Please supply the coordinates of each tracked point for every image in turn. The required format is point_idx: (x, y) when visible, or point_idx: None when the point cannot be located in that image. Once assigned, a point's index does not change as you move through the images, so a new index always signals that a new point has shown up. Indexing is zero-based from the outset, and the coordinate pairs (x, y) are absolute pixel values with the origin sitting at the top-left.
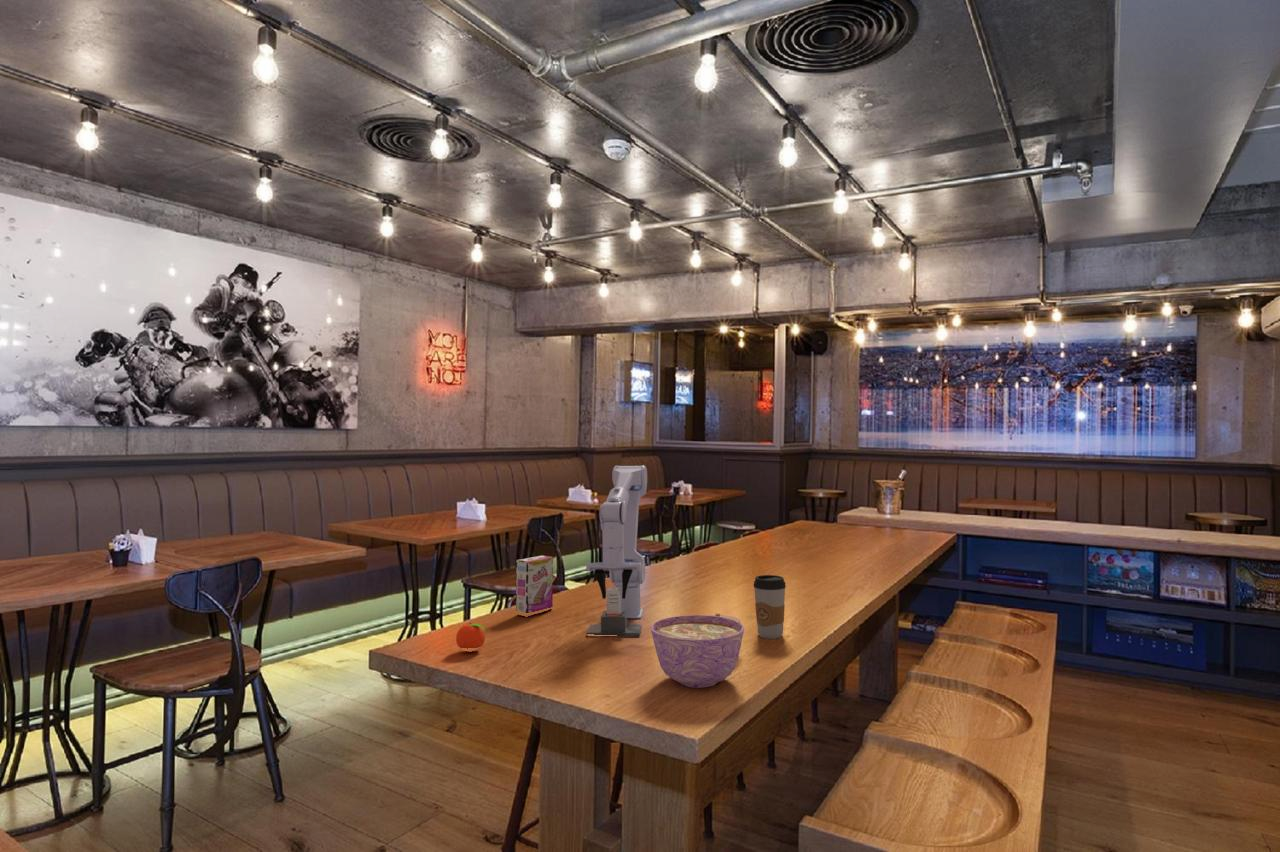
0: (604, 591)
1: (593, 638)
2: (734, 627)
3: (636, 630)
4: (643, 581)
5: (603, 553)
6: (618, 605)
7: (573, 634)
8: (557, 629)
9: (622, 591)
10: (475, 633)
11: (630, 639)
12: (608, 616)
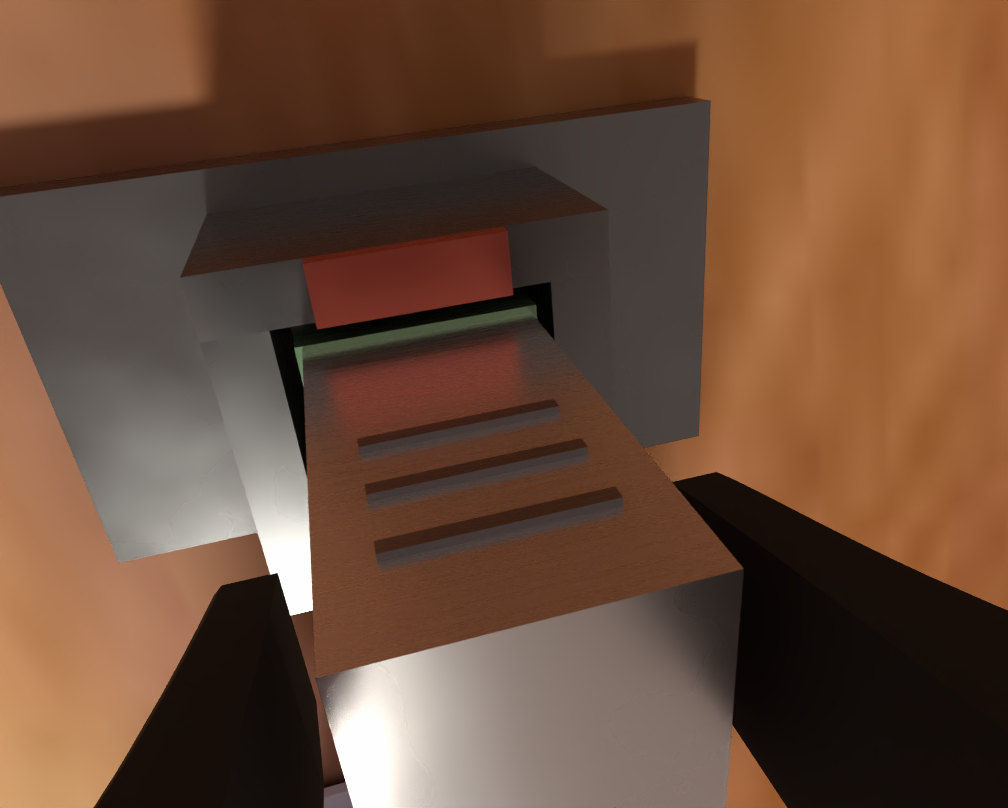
0: (771, 563)
1: (592, 23)
2: None
3: (75, 319)
4: None
5: None
6: (341, 424)
7: (830, 166)
8: (977, 315)
9: (243, 689)
10: None
11: (66, 39)
12: (482, 228)
